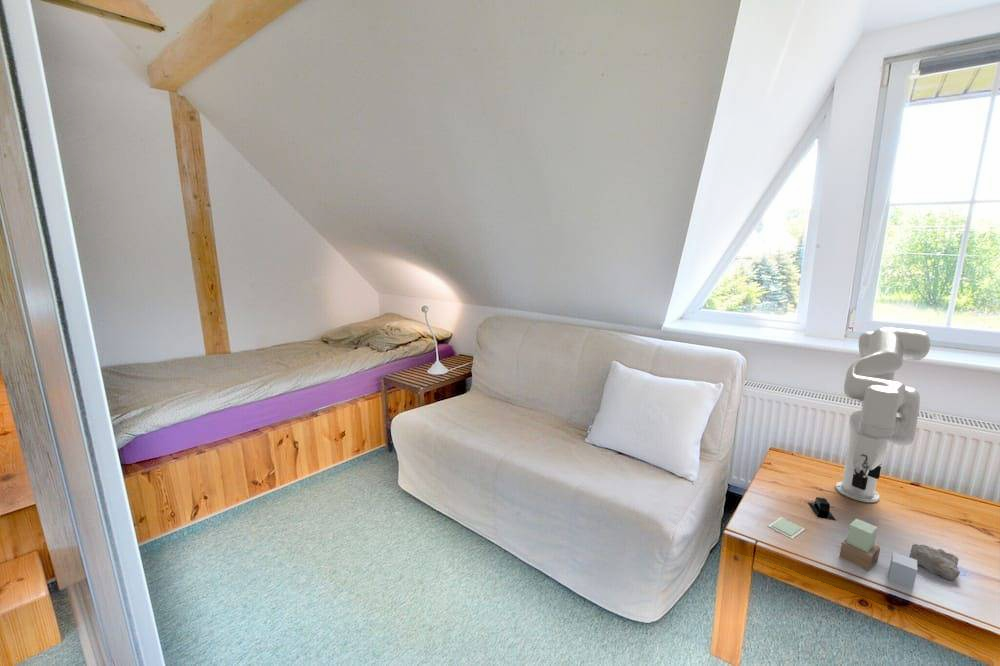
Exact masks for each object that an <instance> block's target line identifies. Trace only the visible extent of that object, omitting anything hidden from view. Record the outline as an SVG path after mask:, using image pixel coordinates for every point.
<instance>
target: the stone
mask: <svg viewBox="0 0 1000 666" xmlns="http://www.w3.org/2000/svg"><path fill="white" fill-rule="evenodd" d="M911 545H912V546H911V549H910V553H909V557H910V558H913V559H915V560H917V566H918V565H919V566H921V567H923V568H925V569H926V570H927V571H929V572H931V573H932V574H934V575H935V576H940V577H942V578H944V579H947V580H950V581H955V580H957V578H958V577H959V575H960V574H961V571H960V570H959V567H958V565H959V563H958V562H959V561H960V560H959V559H960V558H958V556H956V555H954V554H952V553H950V552H949V553H948V552H946V551H944V550H943V549H941V548H940V549H939V548H935V547H932V546H931V547H930V546H928V545H926V544H917V543H913V544H911Z"/></svg>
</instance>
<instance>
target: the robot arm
mask: <svg viewBox="0 0 1000 666" xmlns="http://www.w3.org/2000/svg"><path fill="white" fill-rule="evenodd" d="M930 349H931V339H930V336H929V335H928V334H927V332H925V331H922V330H916V329H906V328H897V327H881V328H877V329H875V330H873V331H865V332H863V333H861V334H860V336H859V337H858V350H859V355H860V358H859V359H857V360H856V361H854V362H853V363H851V364H850V366H849V367H848V369H847V371H846V375H845V380H844V384H843V392H844V395H845V396H846V397H847V398H848V399H849V400H854V401H857V402H858V401H859V403H860V404H861V405H862V407H861V410H857V411H856V410H855V411H853V412H852V413H851V414H850V417H849V434H848V435H849V437H848V446H847V451H846V458H845V463H844V468H843V473H842V474H843V475H842V480H841V481H838V482H836V484H835V489H836V491H838V493H840V494H841V495H843V496H844V497H847V498H849V499H852V500H855V501H859V502H862V503H877V502H879V500H880V497H881V495H880V494H879V493H878V491H876V487H877V482H878V480H879V478H880V474H881V471H882V465H883V462H884V460H885V457H886V453H887V447H888V444H892V445H898V446H902V447H907V446H911V445H912V444H913V443H914V440H915V437H916V430H917V424H918V418H919V413H920V412H919V411H920V404H921V396H920V393H919V391H918V390H917V389H916V388H914V387H912V386H906V385H905V384H904V383H902V382H900V381H896V380H894V379H895V373H896V372H897V371H898V370H900V369H901V367H902V366H903V363H904V361H905V360H906V361H914V362H915V361H916V362H917V361H920V360H922V359H923V358H926V356H927V355H928V354H929V352H930ZM897 414H898V415H899V416H897Z"/></svg>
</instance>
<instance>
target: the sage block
mask: <svg viewBox="0 0 1000 666" xmlns="http://www.w3.org/2000/svg"><path fill="white" fill-rule="evenodd" d="M877 532H878V526H875V525H873V524H871V523H868V522H866V521H864V520H861V519H858V518H855V519H854V520H853V521H851V523H850V524H849V527H848V532H847V537H846V538H847V542H846V543H848V544H850V545H853V546H855V547H857V548H859V549H861V550H863V551H866V552H868V551H869V550H870V549H871V548H872V547H873V546H874V544H875V541H876V536H877Z"/></svg>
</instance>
